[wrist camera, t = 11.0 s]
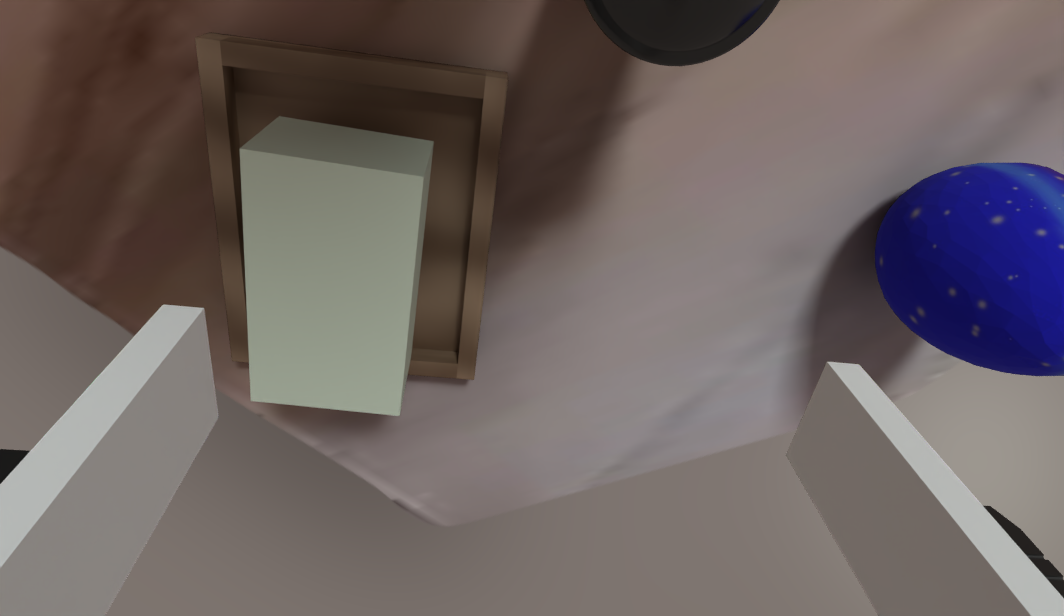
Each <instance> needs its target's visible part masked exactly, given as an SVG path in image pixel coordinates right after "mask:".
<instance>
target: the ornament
mask: <svg viewBox="0 0 1064 616" xmlns="http://www.w3.org/2000/svg"><path fill="white" fill-rule="evenodd" d="M875 267H876V272H877V277H878V281H879V284H880V287H881V289H882V292H883V295H884V298H885V299H886V301H887V303H888V304H889V306H890V307H891V309H892V310H893V311H894V313H895V314H896V315H897V316H898V317H899V319H900V320H901V321H902V322H903V323H904V324H905V325H906V326H907V327H909V328H910V329H911V330H912V331H913V332H914V333H916V334H917V335H919V336H920V337H921V338H923V339H924V340H925V341H927V342H928V343H930V344H931V345H933V346H934V347H936V348H938V349H940V350H941V351H943V352H945V353H947V354H949V355H952V356H954V357H956V358H959V359H961V360H964V361H966V362H969V363H971V364H973V365H976V366H980V367H984V368H989V369H992V370H996V371H1000V372H1005V373H1012V374H1020V375H1031V376H1064V175H1063V174H1061V173H1059V172H1057V171H1054V170H1052V169H1050V168H1048V167H1044V166H1039V165H1035V164H1028V163H977V164H972V165H966V166H960V167H954V168H951V169H948V170H945V171H942V172H940V173H937V174H934V175H932V176H930V177H927V178H925V179H923V180H921V181H920V182H918V183H917V184H915V185H914V186H912V187H911V188H910V189H909V190H907V191H906V192H905V193H904V194H902V195H901V196H900V197H899V198H898V199H897V200H896V201H895V203H894V204H893V205H892V206H891V207H890V209H889V210H888V212H887V214H886V215H885V217H884V219H883V221H882V223H881V226H880V228H879V231H878V233H877V240H876V247H875Z"/></svg>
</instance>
